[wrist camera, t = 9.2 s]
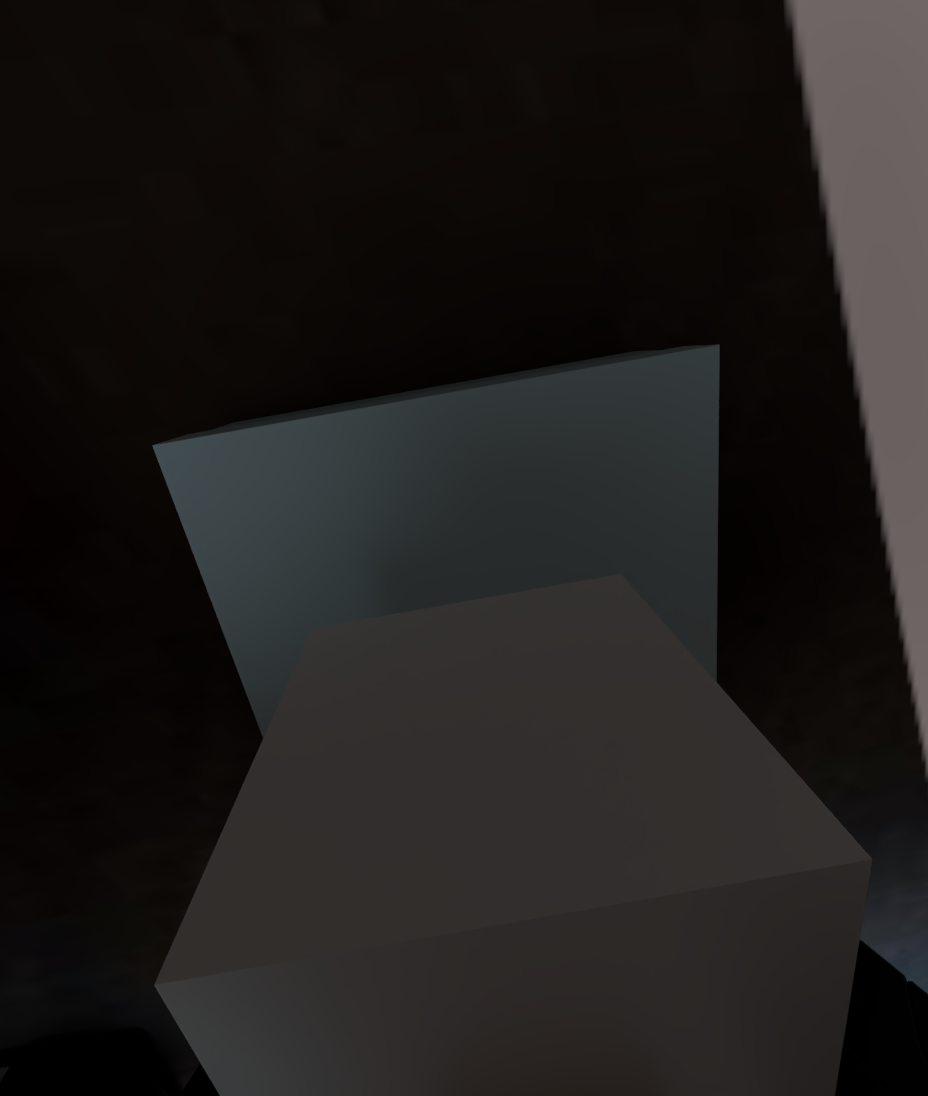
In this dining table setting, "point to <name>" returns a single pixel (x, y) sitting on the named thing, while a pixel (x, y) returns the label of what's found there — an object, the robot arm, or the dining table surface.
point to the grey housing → (519, 872)
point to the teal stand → (458, 502)
